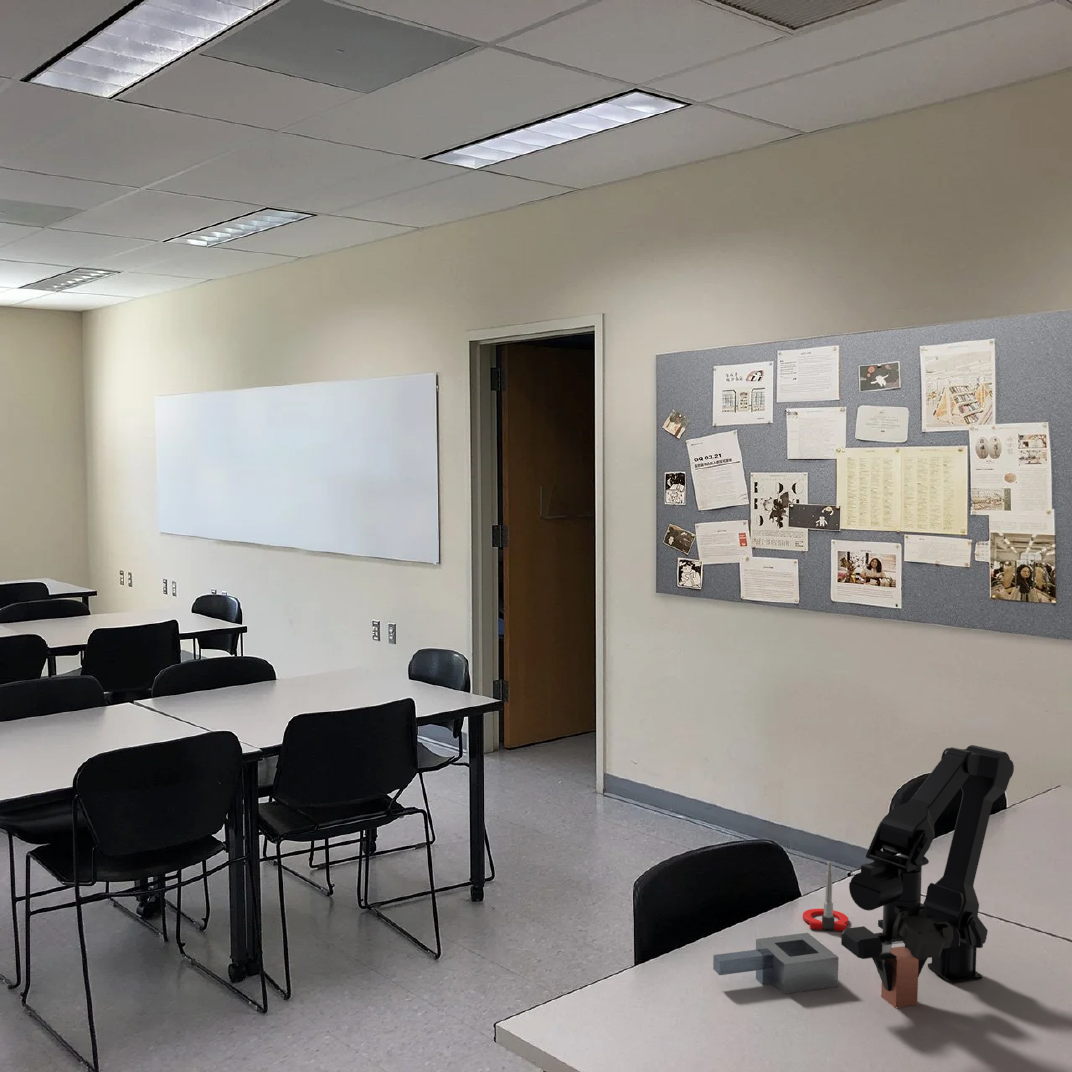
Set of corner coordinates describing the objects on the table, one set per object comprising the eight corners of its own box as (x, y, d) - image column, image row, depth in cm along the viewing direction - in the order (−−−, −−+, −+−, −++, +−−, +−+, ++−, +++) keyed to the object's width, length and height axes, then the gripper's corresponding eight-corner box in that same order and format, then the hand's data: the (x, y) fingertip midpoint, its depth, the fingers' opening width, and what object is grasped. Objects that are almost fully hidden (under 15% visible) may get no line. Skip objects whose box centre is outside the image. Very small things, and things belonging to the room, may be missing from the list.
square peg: (902, 993, 182) (903, 946, 181) (917, 1004, 178) (918, 956, 177) (881, 996, 181) (882, 949, 180) (895, 1008, 177) (897, 959, 176)
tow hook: (800, 912, 216) (805, 930, 206) (802, 847, 215) (806, 861, 206) (845, 916, 214) (851, 933, 205) (846, 849, 214) (853, 864, 205)
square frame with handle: (807, 960, 194) (807, 932, 193) (837, 986, 184) (838, 957, 184) (703, 973, 188) (703, 945, 188) (729, 1001, 179) (729, 971, 178)
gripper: (880, 920, 168) (877, 1020, 169) (984, 908, 173) (981, 1004, 174) (840, 893, 179) (838, 987, 180) (939, 882, 184) (937, 973, 185)
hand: (899, 988), depth 179 cm, fingers closed on square peg, 4 cm apart
